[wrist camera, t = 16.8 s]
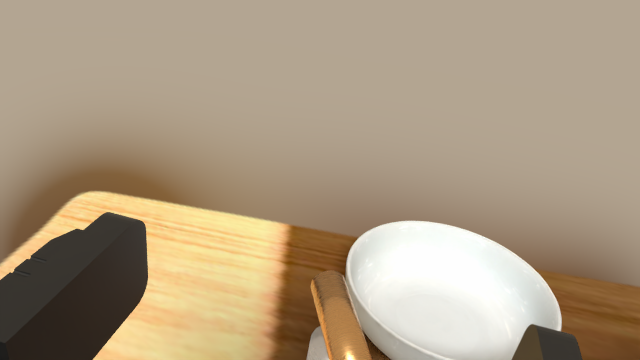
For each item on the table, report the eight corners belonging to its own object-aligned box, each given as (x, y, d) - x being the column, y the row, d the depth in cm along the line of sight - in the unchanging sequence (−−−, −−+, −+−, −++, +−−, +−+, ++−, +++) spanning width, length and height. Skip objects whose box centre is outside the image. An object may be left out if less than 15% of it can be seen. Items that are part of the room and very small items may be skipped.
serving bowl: (554, 321, 56) (578, 274, 52) (506, 469, 40) (536, 415, 36) (389, 242, 64) (400, 197, 61) (295, 338, 48) (304, 284, 45)
